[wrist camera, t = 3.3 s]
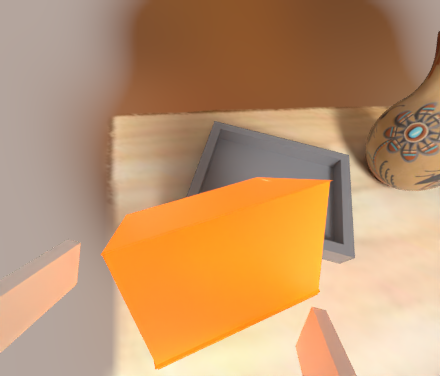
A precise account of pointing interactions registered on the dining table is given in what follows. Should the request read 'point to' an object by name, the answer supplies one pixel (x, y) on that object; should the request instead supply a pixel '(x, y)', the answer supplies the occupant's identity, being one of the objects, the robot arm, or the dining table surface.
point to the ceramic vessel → (409, 138)
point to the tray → (280, 175)
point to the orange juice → (219, 261)
